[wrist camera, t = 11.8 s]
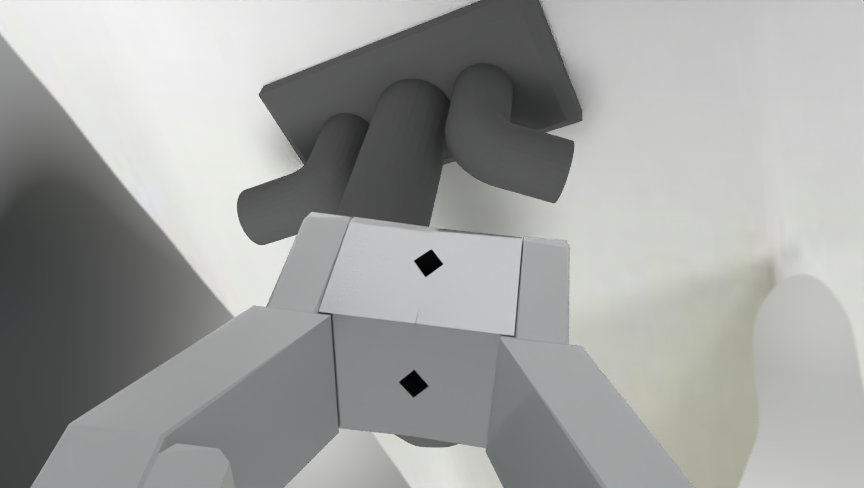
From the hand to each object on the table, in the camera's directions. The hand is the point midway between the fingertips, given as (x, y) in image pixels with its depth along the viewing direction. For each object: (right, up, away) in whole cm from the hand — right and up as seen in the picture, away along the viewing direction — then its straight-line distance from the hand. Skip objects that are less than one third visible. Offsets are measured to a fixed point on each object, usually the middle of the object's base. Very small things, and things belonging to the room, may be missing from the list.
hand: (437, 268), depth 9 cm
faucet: (+1, +6, +40) cm, 40 cm away
